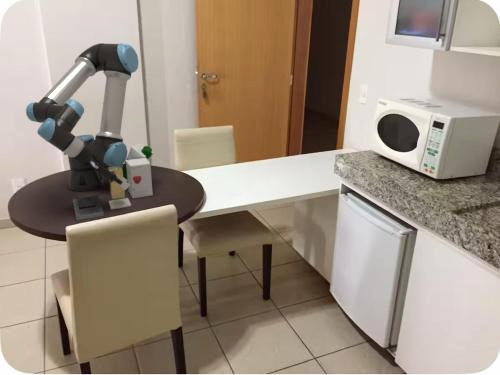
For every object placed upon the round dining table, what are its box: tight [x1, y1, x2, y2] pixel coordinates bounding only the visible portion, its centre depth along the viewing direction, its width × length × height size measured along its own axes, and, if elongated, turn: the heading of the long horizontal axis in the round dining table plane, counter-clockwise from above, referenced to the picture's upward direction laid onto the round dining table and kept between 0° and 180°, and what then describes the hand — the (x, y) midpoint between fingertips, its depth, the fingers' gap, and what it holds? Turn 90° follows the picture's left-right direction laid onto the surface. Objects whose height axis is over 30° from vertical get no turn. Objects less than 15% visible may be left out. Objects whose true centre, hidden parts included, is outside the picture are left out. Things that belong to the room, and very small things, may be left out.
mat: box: [108, 197, 132, 210], centre depth 176 cm, size 8×8×1 cm
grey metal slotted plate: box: [72, 194, 105, 221], centre depth 171 cm, size 18×10×2 cm, turn 25°
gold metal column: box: [108, 165, 126, 200], centre depth 172 cm, size 5×5×12 cm
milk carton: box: [121, 142, 154, 183], centre depth 194 cm, size 9×9×20 cm
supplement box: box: [125, 158, 154, 199], centre depth 184 cm, size 9×9×15 cm
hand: (126, 184), depth 174 cm, fingers closed on gold metal column, 5 cm apart
